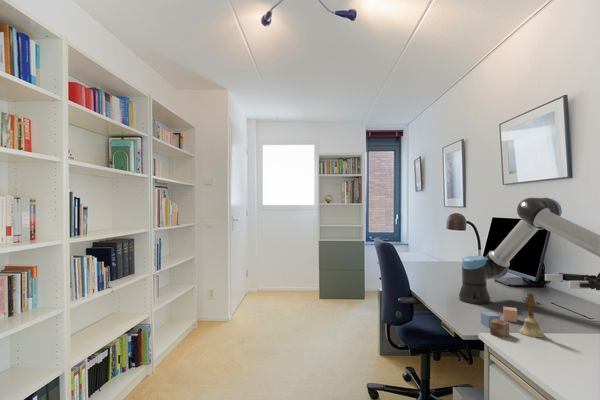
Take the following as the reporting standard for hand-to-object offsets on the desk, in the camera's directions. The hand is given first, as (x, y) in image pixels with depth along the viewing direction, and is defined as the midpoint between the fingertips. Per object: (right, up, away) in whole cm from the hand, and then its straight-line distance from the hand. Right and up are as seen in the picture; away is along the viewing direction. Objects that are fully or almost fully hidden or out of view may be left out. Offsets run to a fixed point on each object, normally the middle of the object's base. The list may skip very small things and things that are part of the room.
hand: (556, 280), depth 130 cm
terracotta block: (-8, -22, +17) cm, 28 cm away
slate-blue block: (-21, -21, +9) cm, 31 cm away
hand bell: (-10, -21, 0) cm, 23 cm away
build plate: (+21, -23, +46) cm, 55 cm away
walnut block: (-23, -21, 0) cm, 31 cm away
